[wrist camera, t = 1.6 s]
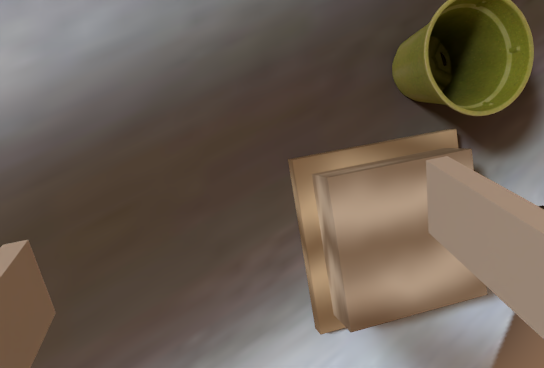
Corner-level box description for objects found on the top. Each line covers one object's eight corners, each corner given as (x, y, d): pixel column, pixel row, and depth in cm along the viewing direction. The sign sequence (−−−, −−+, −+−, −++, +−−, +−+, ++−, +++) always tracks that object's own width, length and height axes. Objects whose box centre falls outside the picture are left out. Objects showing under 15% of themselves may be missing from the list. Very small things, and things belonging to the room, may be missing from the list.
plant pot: (397, 136, 44) (453, 136, 36) (358, 42, 43) (407, 18, 34) (477, 94, 46) (549, 84, 37) (443, 1, 44) (510, -31, 36)
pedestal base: (465, 287, 48) (503, 306, 42) (315, 327, 44) (336, 354, 39) (446, 129, 45) (485, 128, 40) (287, 159, 42) (306, 162, 37)
